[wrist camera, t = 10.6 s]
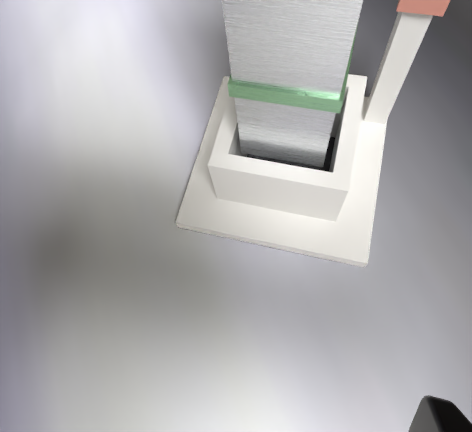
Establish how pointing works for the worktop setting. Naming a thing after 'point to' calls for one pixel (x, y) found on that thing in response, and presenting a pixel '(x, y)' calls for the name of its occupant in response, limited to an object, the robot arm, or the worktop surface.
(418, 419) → the robot arm
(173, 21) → the worktop surface
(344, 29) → the column
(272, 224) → the stand
